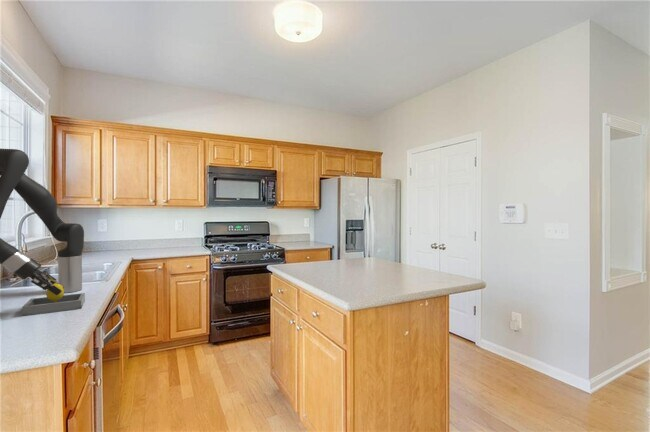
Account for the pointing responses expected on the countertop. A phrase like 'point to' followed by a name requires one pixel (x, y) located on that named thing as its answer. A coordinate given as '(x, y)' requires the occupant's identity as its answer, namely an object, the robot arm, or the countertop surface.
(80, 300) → the tray
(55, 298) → the lemon
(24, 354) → the countertop surface
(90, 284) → the countertop surface
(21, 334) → the countertop surface
